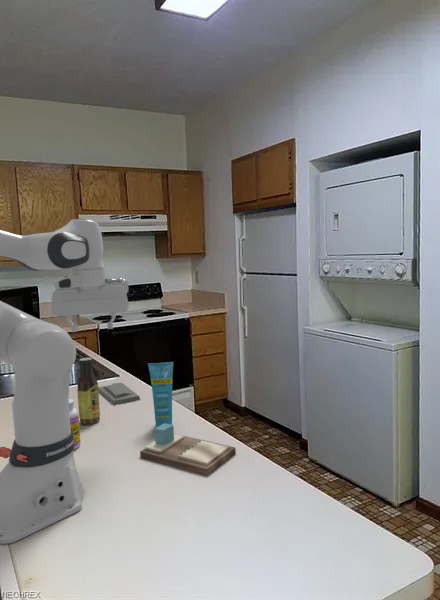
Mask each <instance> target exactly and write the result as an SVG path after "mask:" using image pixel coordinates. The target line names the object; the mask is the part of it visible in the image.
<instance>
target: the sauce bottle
mask: <svg viewBox="0 0 440 600" xmlns="http://www.w3.org/2000/svg"><path fill="white" fill-rule="evenodd" d="M93 363H94V362H93V358H92V357H82V358H80V359H79V360H78V365H79V370H80V371H79V373H80V374H79V376H78V378H77V382H76V385H77V392H76V393H77V405H78V407H77V408H78V415H79V424H81V425H93V424H96V423H98V422H99V421H100V417H101V412H100V409H101V408H100V395H99V394H100V393H99V392H98V387H99V383H98V379H97V378H96V376H95V374H94V369H93Z"/></svg>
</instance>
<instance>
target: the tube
mask: <svg viewBox="0 0 440 600" xmlns="http://www.w3.org/2000/svg"><path fill="white" fill-rule="evenodd" d="M147 366H148V367H147V368H148V371H149V378H150V383H151V389H152V390H151V391H152V399H153V411H154V418H155V420H154V421H155V427H158V426H160V425H162V424H164V423H166V424H171V425H173V374H174V361H169V362H168V361H167V362H158V363H157V362H155V363H154V362H153V363H152V362H151V363H147Z"/></svg>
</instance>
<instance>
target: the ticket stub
mask: <svg viewBox="0 0 440 600" xmlns="http://www.w3.org/2000/svg"><path fill="white" fill-rule="evenodd" d="M174 430H175V429H174V424H172V425H171V424H166V423H164V424H162V425H160V426H158V427H157V426H155V428H154V438H155V441H153V442H151V443H149V444H148V445H146V446H144V449H147V450H150V451H154V452H158V453H161V452H163V451H164V450H166V449H168V448H169V447H171V446H172V445H174V444H176V443H177V442H179V441H181V440H182V439H184V436H185V435H183V436H181V434H178V435H177V433H175V431H174Z"/></svg>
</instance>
